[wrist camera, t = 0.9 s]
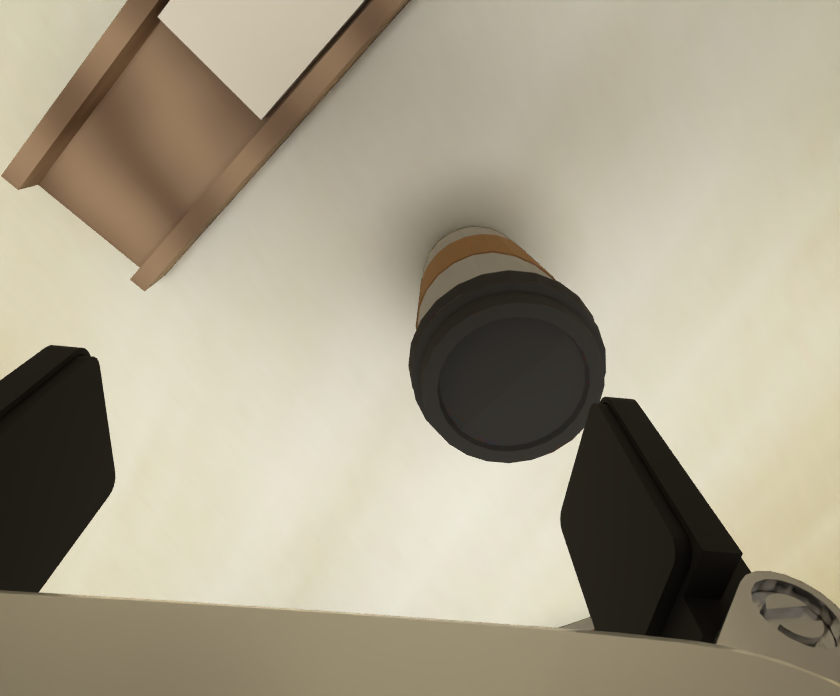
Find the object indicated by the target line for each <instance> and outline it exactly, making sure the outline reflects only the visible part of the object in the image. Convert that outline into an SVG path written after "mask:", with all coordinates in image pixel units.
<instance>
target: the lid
mask: <svg viewBox="0 0 840 696" xmlns="http://www.w3.org/2000/svg"><path fill="white" fill-rule="evenodd" d="M366 1H367V0H170V1H169V2H168V4H167V5H166V6H165V8H164V9H163V10H162V12H161V13H160V14H159V16H158V18H159V19H160V20H161V21H162V22H163V23H164V24H165V25H166V26H167V27H168V28H169V29H170V30H171V31H172V32H173V33H174V34H175V35H176V36H177V37H178V38H179V39H180V40H181V41H182V42H183V43H184V44H185V45H186V46H187V47H188V48H189V49H190V50H191V51H192V52H193V53H194V54H195V55H196V56H197V57H198V58H199V59H200V60H201V61H202V62H203V63H204V64H205V65H206V66H207V67H208V68H209V69H210V70H211V71H212V72H213V73H214V74H215V75H216V76H217V77H218V78H219V79H220V80H221V81H222V82H223V83H224V84H225V85H227V86H228V87H229V88H230V89H231V90H232V91H233V92H234V93H235V94H236V95H237V96H238V97H239V98H240V99H241V100H242V101H243V102H244V103H245V104H246V105H247V106H248V107H249V108H250V109H251V110H252V111H253V112H254V113H255V114H256V115H257V116H258V117H259V118H260V119H261V120H262V119H265V118H266V117H267V116H268V114H269V113H270V112H271V111H272V110H273V109H274V107H275V106H276V105H277V104H278V103H279V102H280V101H281V99H282V98H283V97H284V96H285V95H286V94H287V92H288V91H289V90H290V89H291V88H292V87H293V86H294V84H295V83H296V82H297V81H298V80H299V79H300V77H301V76H302V75H303V74H304V73H305V72H306V71H307V69H308V68H309V67H310V66H311V65H312V64H313V62H314V61H315V60H316V59H317V58H318V57H319V56H320V54H321V53H322V52H323V51H324V50H325V49H326V47H327V46H328V45H329V44H330V43H331V42H332V41H333V39H334V38H335V37H336V36H337V35H338V34H339V32H340V31H341V30H342V29H343V28H344V27H345V26H346V24H347V23H348V22H349V21H350V20H351V19H352V17H353V16H354V15H355V14H356V13H357V12H358V11H359V9H360V8H361V7H362V6H363V5H364V4H365V2H366Z"/></svg>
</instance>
